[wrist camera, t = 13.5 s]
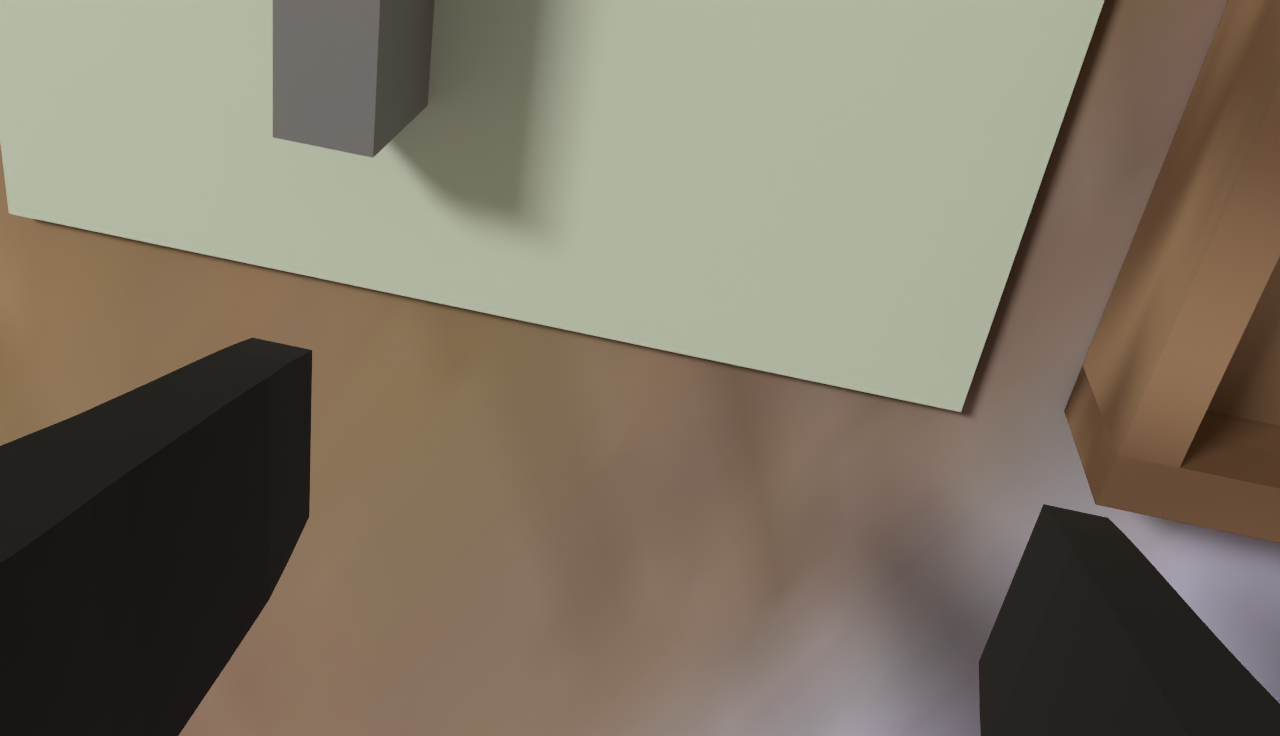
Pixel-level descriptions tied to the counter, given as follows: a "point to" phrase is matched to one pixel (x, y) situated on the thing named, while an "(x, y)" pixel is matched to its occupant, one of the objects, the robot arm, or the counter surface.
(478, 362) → the counter surface
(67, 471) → the robot arm
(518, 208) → the lid
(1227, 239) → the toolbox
